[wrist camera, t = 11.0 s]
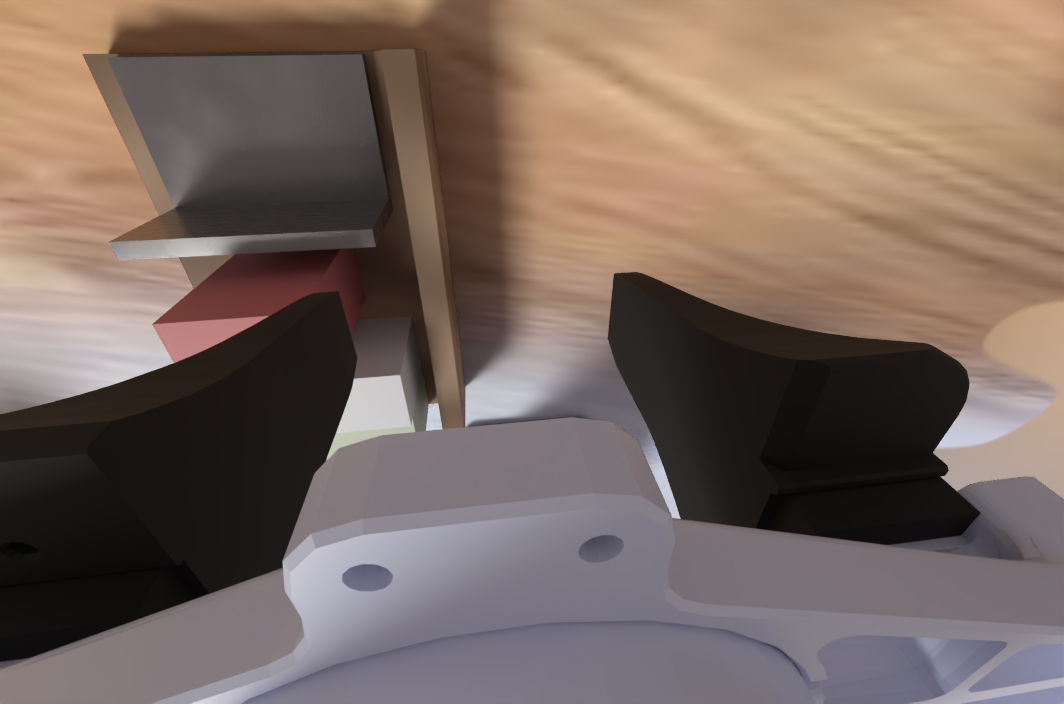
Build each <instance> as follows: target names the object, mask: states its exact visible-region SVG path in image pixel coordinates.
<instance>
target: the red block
mask: <svg viewBox="0 0 1064 704" xmlns="http://www.w3.org/2000/svg"><path fill="white" fill-rule="evenodd" d="M335 291H339V294H340V298H341V301H342V305H343V308H344V312H345V315H346V319H347V322H348V326H349V329H350V333H352V331H353V328H354V326H355V323H356V321H357V319H358V316H359V314H360V311H361V309H362V307H363V304H364V302H365V299H366V297H365V293H364V289H363V285H362V281H361V277H360V273H359V270H358V266H357V262H356V258H355V254H354V250H353V248H345V249H326V250H307V251H288V252H269V253H250V254H235V255H233V256H232V257H231V258H230V259H229V260H228V261H226V262H225V263H224V264H223V265H222V266H220V267H219V268H218V269H217V270H216V271H215V272H213V273H212V274H211V275H210V276H209V277H208V278H206V279H205V280H204V281H203V282H202V283H200V284H199V285H198V286H197V287H196V288H195V289H193V290H192V291H191V292H190V293H189V294H187V295H186V296H185V297H184V298H183V299H182V300H180V301H179V302H178V303H177V304H176V305H174V306H173V307H172V308H171V309H170V310H169V311H167V312H166V313H165V314H164V315H163V316H161V317H160V318H159V319H158V320H157V321H156V322H154V323H153V324H152V325H153V327H154V328H155V330H156V332H157V334H158V335H159V337H160V339H161V341H162V342H163V344H164V346H165V348H166V349H167V351H168V353H169V355H170V357H171V358H172V360H173V362H174V363H176V362H178V361H180V360H183V359H185V358H187V357H190V356H192V355H194V354H197V353H199V352H201V351H203V350H206V349H208V348H210V347H212V346H214V345H216V344H218V343H220V342H222V341H224V340H226V339H228V338H230V337H232V336H234V335H235V334H237V333H239V332H241V331H243V330H245V329H247V328H249V327H251V326H252V325H254V324H256V323H258V322H260V321H261V320H263V319H265V318H267V317H268V316H270V315H272V314H274V313H275V312H277V311H279V310H281V309H282V308H284V307H286V306H288V305H289V304H291V303H293V302H295V301H297V300H299V299H301V298H303V297H305V296H307V295H309V294H312V293H320V292H335Z"/></svg>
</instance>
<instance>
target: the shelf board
mask: <svg viewBox="0 0 1064 704" xmlns="http://www.w3.org/2000/svg"><path fill="white" fill-rule="evenodd" d="M356 54H364V55H365V58H366V64H367V69H368V75H369V80H370V86H371V91H372V97H373V102H374V108H375V113H376V119H377V124H378V130H379V135H380V141H381V146H382V152H383V157H384V163H385V168H386V174H387V179H388V184H389V190H390V195H391V201H392V206H393V212H392V214H391V216H390V218H389V220H388V223H387V225H386V227H385V229H384V231H383V233H382V235H381V237H380V239H379V241H378V243H377V245H376V247H364V248H353V250H354V254H355V258H356V262H357V266H358V270H359V273H360V277H361V281H362V285H363V289H364V293H365V297H366V299H365V302H364V304H363V307H362V309H361V311H360V314H359V316H358V319H373V318H388V317H403V316H413V322H414V327H415V332H416V338H417V343H418V349H419V354H420V360H421V365H422V371H423V376H424V382H425V387H426V393H427V398H428V404H434V403H439V409H440V416H441V422H442V428H443V429H453V428H463V427H465V380H464V372H463V364H462V355H461V347H460V339H459V330H458V322H457V313H456V305H455V297H454V288H453V280H452V272H451V263H450V255H449V246H448V238H447V230H446V221H445V213H444V205H443V196H442V188H441V179H440V171H439V163H438V154H437V146H436V138H435V129H434V121H433V112H432V104H431V96H430V87H429V79H428V70H427V62H426V54H425V51H423V50H417V49H380V51H326V52H237V53H148V54H83V56H84V59H85V61H86V63H87V65H88V67H89V69H90V71H91V73H92V75H93V78H94V80H95V82H96V84H97V86H98V88H99V90H100V92H101V94H102V96H103V99H104V101H105V103H106V105H107V107H108V109H109V111H110V113H111V115H112V118H113V120H114V122H115V124H116V126H117V128H118V130H119V132H120V134H121V136H122V139H123V141H124V143H125V145H126V147H127V149H128V151H129V153H130V155H131V158H132V160H133V162H134V164H135V166H136V168H137V170H138V172H139V174H140V176H141V179H142V181H143V183H144V185H145V187H146V189H147V191H148V193H149V195H150V198H151V200H152V202H153V204H154V206H155V208H156V210H157V212H158V214H159V216H160V215H162V214H164V213H166V212H168V211H170V210H172V209H174V208H175V207H174V205H173V203H172V201H171V198H170V196H169V194H168V192H167V190H166V187H165V185H164V183H163V181H162V179H161V176H160V174H159V172H158V170H157V167H156V165H155V163H154V161H153V159H152V156H151V154H150V152H149V150H148V147H147V145H146V143H145V141H144V139H143V136H142V134H141V132H140V130H139V128H138V125H137V123H136V121H135V119H134V116H133V114H132V112H131V110H130V108H129V105H128V103H127V101H126V99H125V97H124V94H123V92H122V90H121V88H120V85H119V83H118V81H117V79H116V77H115V74H114V72H113V70H112V68H111V66H110V63H109V61H108V59H107V57H189V56H272V55H356ZM233 255H235V254H231V255H212V256H193V257H179V259H180V261H181V263H182V265H183V267H184V269H185V271H186V273H187V275H188V277H189V280H190V282H191V284H192V286H193V288H194V289H195V288H196V287H197V286H198V285H199V284H200V283H202V282H203V281H204V280H205V279H206V278H208V277H209V276H210V275H211V274H212V273H213V272H215V271H216V270H217V269H218V268H219V267H220V266H222V265H223V264H224V263H225V262H226V261H228V260H229V259H230V258H231V257H232V256H233ZM358 319H357V320H358Z"/></svg>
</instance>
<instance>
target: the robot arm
mask: <svg viewBox="0 0 1064 704" xmlns="http://www.w3.org/2000/svg"><path fill="white" fill-rule="evenodd" d="M608 340H609V343H610V347H611V350H612V353H613V356H614V359H615V362H616V365H617V367H618V369H619V371H620V373H621V375H622V377H623V379H624V381H625V383H626V385H627V387H628V389H629V391H630V393H631V395H632V397H633V399H634V401H635V403H636V405H637V407H638V409H639V411H640V412H641V414H642V416H643V418H644V420H645V422H646V424H647V426H648V428H649V431H650V433H651V435H652V437H653V440H654V442H655V445H656V448H657V450H658V453H659V456H660V459H661V461H662V464H663V467H664V469H665V472H666V475H667V478H668V481H669V484H670V487H671V490H672V493H673V496H674V499H675V502H676V505H677V508H678V512H679V515H680V518H681V519H675V518H672V516H671V513H670V511H669V509H668V507H667V504H666V502H665V500H664V498H663V495H662V493H661V491H660V489H659V487H658V484H657V482H656V480H655V478H654V475H653V473H652V471H651V469H650V466H649V464H648V462H647V460H646V458H645V455H644V453H643V451H642V449H641V446H640V444H639V442H638V440H636V439H635V438H634V437H632V436H631V435H630V434H628V433H627V432H625V431H624V430H623V429H621V428H620V427H619V426H617V425H616V424H615V423H613V422H610V421H601V420H592V419H585V418H574V417H569V418H558V419H548V420H537V421H526V422H516V423H505V424H495V425H484V426H474V427H463V428H453V429H442V430H432V431H421V432H411V433H400V434H389V435H381V436H377V437H374V438H371V439H367V440H364V441H361V442H357V443H354V444H351V445H347V446H344V447H341V448H338V449H337V450H336V452H335V453H334V454H333V455H332V456H331V457H330V458H329V459H328V460H327V456H328V454H329V451H330V448H331V445H332V443H333V440H334V437H335V435H336V432H337V429H338V426H339V424H340V421H341V418H342V415H343V413H344V410H345V407H346V404H347V401H348V399H349V396H350V393H351V390H352V386H353V381H354V376H355V370H356V364H357V354H356V351H355V347H354V344H353V340H352V337H351V333H350V329H349V326H348V322H347V319H346V315H345V312H344V308H343V305H342V301H341V298H340V294H339V291H335V292H320V293H312V294H309V295H307V296H305V297H303V298H301V299H299V300H297V301H295V302H293V303H291V304H289V305H288V306H286V307H284V308H282V309H281V310H279V311H277V312H275V313H274V314H272V315H270V316H268V317H267V318H265V319H263V320H261V321H260V322H258V323H256V324H254V325H252V326H251V327H249V328H247V329H245V330H243V331H241V332H239V333H237V334H235V335H234V336H232V337H230V338H228V339H226V340H224V341H222V342H220V343H218V344H216V345H214V346H212V347H210V348H208V349H206V350H203V351H201V352H199V353H197V354H194V355H192V356H190V357H187V358H185V359H183V360H180V361H178V362H176V363H173V364H170V365H168V366H165V367H163V368H160V369H157V370H154V371H151V372H148V373H146V374H143V375H140V376H137V377H134V378H131V379H129V380H126V381H123V382H120V383H117V384H114V385H111V386H108V387H104V388H101V389H98V390H94V391H91V392H88V393H84V394H81V395H77V396H73V397H70V398H66V399H62V400H59V401H55V402H51V403H47V404H43V405H39V406H35V407H31V408H27V409H23V410H18V411H14V412H9V413H5V414H0V704H1064V499H1063V498H1061V497H1060V496H1059V495H1057V494H1056V493H1055V492H1053V491H1052V490H1050V489H1049V488H1048V487H1046V486H1045V485H1044V484H1042V483H1041V482H1039V481H1038V480H1037V479H1036V478H1034V477H1017V478H1009V479H1001V480H992V481H984V482H977V483H973V484H970V485H967V486H966V487H964V488H962V489H960V490H959V491H956V490H955V489H953V488H952V487H951V486H950V485H949V484H948V483H947V482H946V481H944V480H943V479H942V478H941V477H940V476H945V475H946V474H947V472H948V467H947V465H946V464H945V463H944V462H943V461H941V460H940V459H939V458H938V457H937V456H936V455H934V454H933V451H934V450H935V448H936V447H937V446H938V444H939V443H940V441H941V440H942V438H943V437H944V435H945V434H946V433H947V431H948V430H949V428H950V427H951V425H952V424H953V422H954V421H955V419H956V418H957V417H958V415H959V413H960V411H961V410H962V408H963V406H964V404H965V402H966V399H967V395H968V390H969V379H968V374H967V370H966V369H965V368H964V367H963V366H962V365H961V364H960V363H959V362H958V361H957V360H955V359H954V358H952V357H950V356H949V355H947V354H945V353H944V352H942V351H941V350H939V349H937V348H936V347H934V346H932V345H929V344H926V343H917V342H904V341H891V340H878V339H866V338H857V337H849V336H842V335H835V334H827V333H821V332H815V331H810V330H804V329H799V328H795V327H790V326H785V325H781V324H776V323H772V322H768V321H764V320H760V319H757V318H754V317H750V316H747V315H744V314H740V313H737V312H734V311H731V310H728V309H725V308H722V307H720V306H717V305H715V304H712V303H710V302H707V301H704V300H702V299H700V298H697V297H695V296H692V295H690V294H688V293H686V292H683V291H681V290H679V289H677V288H675V287H672V286H670V285H668V284H666V283H664V282H661V281H659V280H657V279H655V278H652V277H650V276H647V275H645V274H642V273H638V272H630V273H615V274H614V279H613V290H612V301H611V311H610V322H609V332H608ZM326 460H327V461H326Z"/></svg>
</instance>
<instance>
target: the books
mask: <svg viewBox="0 0 1064 704" xmlns="http://www.w3.org/2000/svg"><path fill="white" fill-rule="evenodd" d="M351 337H352V340H353V344H354V347H355V351H356V354H357V364H356V370H355V376H354V381H353V386H352V390H351V393H350V396H349V399H348V401H347V404H346V407H345V410H344V413H343V415H342V418H341V421H340V424H339V426H338V429H337V432H336V435H335V437H334V440H333V443H332V445H331V448H330V451H329V454H328V456H327V460H328V459H329V458H330V457H331V456H332V455H333V454H334V453H335V452H336V450H337V449H338V448H341V447H344V446H347V445H351V444H354V443H357V442H361V441H364V440H367V439H371V438H374V437H377V436H381V435H389V434H400V433H411V432H421V431H426V423H427V413H428V398H427V393H426V387H425V382H424V376H423V371H422V365H421V360H420V354H419V349H418V343H417V338H416V332H415V327H414V322H413V316H403V317H388V318H373V319H358V320H357V321H356V323H355V326H354V328H353V331H352V333H351ZM327 460H326V461H327Z"/></svg>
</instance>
